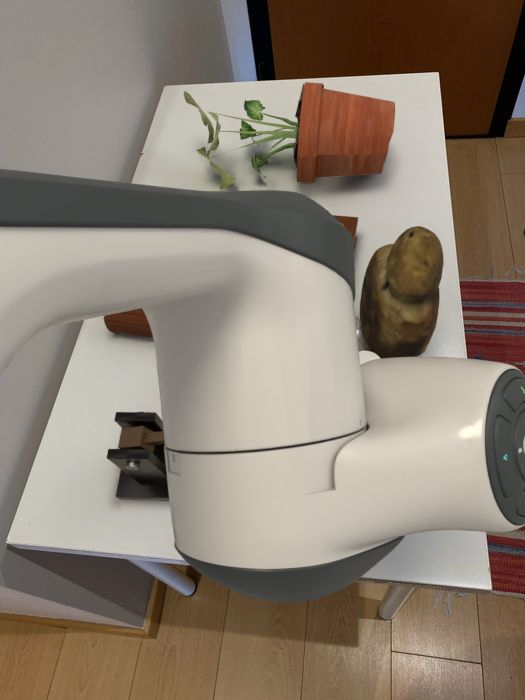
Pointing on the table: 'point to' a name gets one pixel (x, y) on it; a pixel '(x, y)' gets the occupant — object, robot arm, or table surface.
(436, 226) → the table surface
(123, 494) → the black lever stand
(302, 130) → the potted plant
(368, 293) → the brown lumpy potato
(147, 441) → the lever
